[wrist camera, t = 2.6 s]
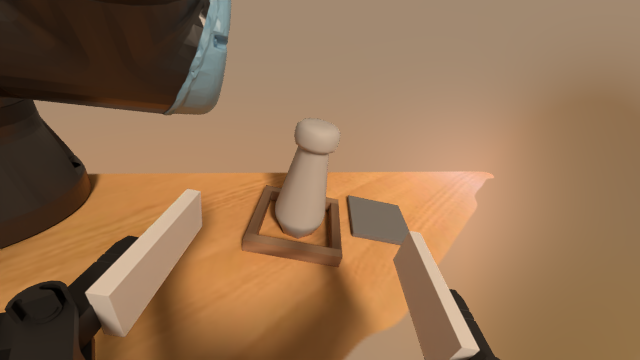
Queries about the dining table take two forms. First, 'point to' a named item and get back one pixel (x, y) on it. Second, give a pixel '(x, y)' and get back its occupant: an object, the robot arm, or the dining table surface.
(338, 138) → the salt shaker
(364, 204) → the charcoal coaster
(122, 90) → the robot arm
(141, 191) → the dining table surface
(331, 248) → the walnut collar
